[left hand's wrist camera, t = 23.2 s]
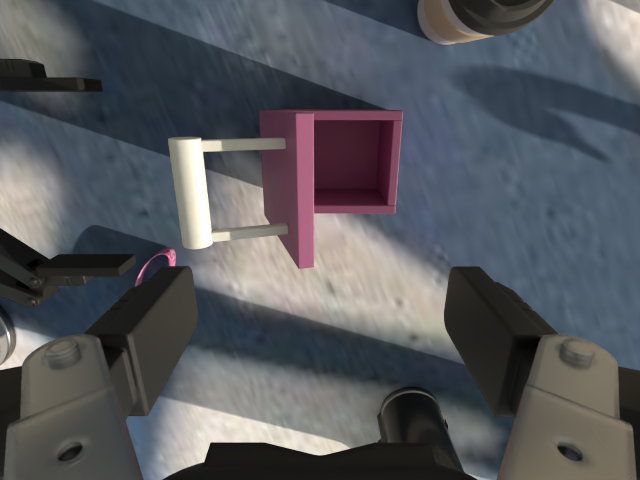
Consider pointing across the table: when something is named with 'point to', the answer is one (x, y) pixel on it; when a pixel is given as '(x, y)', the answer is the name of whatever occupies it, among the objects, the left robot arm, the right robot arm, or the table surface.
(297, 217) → the lid
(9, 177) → the table surface
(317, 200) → the chest
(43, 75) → the right robot arm
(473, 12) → the coffee cup
